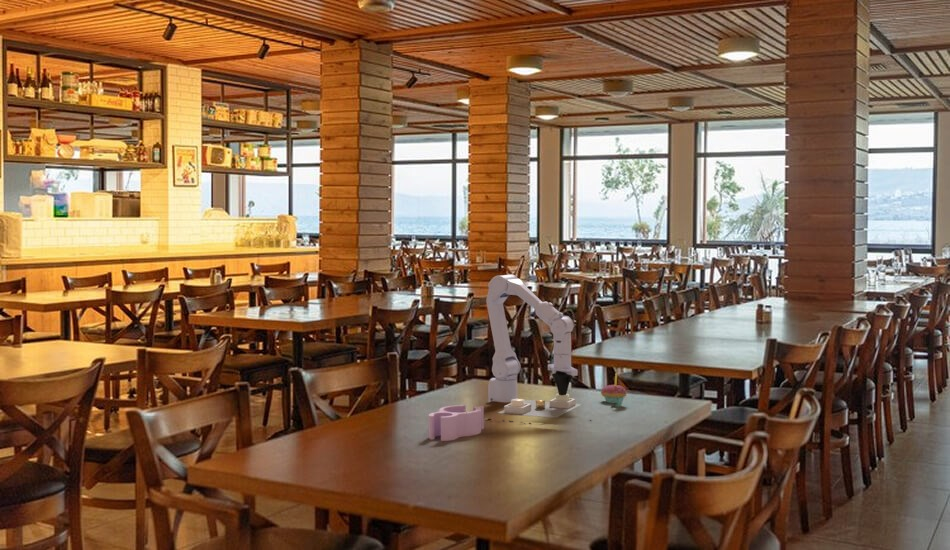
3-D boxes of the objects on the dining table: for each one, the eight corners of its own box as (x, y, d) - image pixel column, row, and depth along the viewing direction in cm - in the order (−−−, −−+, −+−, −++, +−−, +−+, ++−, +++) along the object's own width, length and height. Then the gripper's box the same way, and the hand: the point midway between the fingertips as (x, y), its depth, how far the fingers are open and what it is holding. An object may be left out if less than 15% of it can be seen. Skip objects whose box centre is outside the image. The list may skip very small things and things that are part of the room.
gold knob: (534, 408, 321) (534, 401, 321) (537, 407, 324) (537, 399, 323) (543, 409, 320) (543, 402, 319) (546, 408, 322) (546, 400, 322)
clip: (454, 443, 281) (454, 418, 281) (418, 438, 288) (418, 414, 287) (490, 430, 298) (490, 407, 298) (456, 425, 305) (456, 403, 304)
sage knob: (553, 406, 325) (553, 395, 324) (558, 403, 329) (558, 393, 328) (566, 407, 323) (566, 396, 322) (571, 404, 327) (571, 394, 326)
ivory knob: (508, 411, 316) (508, 400, 316) (514, 409, 320) (514, 398, 320) (521, 413, 314) (521, 401, 314) (526, 410, 318) (526, 399, 318)
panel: (497, 417, 315) (497, 406, 315) (526, 404, 337) (526, 394, 337) (556, 422, 306) (556, 411, 306) (582, 408, 328) (582, 398, 328)
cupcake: (631, 407, 330) (631, 371, 330) (608, 409, 327) (608, 373, 326) (618, 402, 338) (618, 367, 338) (596, 404, 335) (596, 369, 334)
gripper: (539, 352, 329) (540, 392, 330) (564, 357, 316) (565, 399, 317) (557, 350, 332) (557, 390, 333) (582, 355, 320) (583, 397, 321)
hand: (562, 394), depth 325 cm, fingers closed, pressing on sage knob
